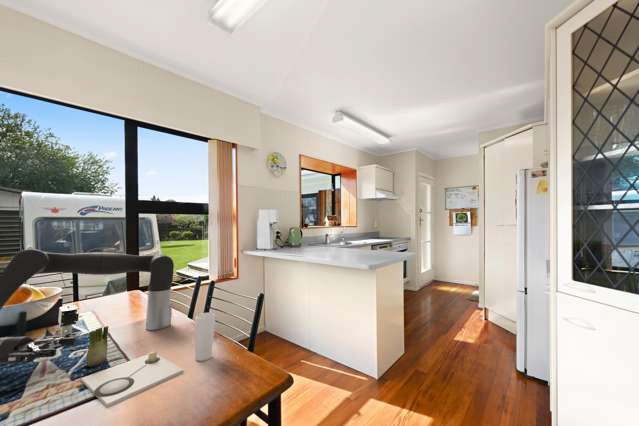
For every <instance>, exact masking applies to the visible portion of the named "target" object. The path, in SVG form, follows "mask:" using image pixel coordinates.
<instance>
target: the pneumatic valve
mask: <svg viewBox="0 0 639 426" xmlns="http://www.w3.org/2000/svg"><path fill="white" fill-rule="evenodd" d="M78 310H80V309H79V306H76V305H74V304H71V305H70V304H68V305H63V306H59V308H58V319H57V320H58V321H57V322H58V324H59V327H60V332H59V334H60V335H66V336H67V335H72V334H73V328H74V327H73V325H76V324H77V322H78V321H79V316H80V313H79V312H78Z"/></svg>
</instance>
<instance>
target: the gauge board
mask: <svg viewBox="0 0 639 426" xmlns="http://www.w3.org/2000/svg"><path fill="white" fill-rule="evenodd" d="M183 373H184V369H183V368H182V367H180V366H178V365H176V364H174V363H173V362H171V361H169V360H168V359H166V358H164V357H162V356H160V355H159V354H158V352H157V351H156V350H154V351H150V352H148V354H145V355H143V356H140V357H136V358H134V359H131V360H128V361H126V362H123V363H120V364H117V365H115V366H112V367H109V368H107V369H103V370H100V371H97V372H95V373H92V374H90V375H87V376H84V377H81V379H80V382H81V383H82V384H83V385H84V386H86V388H87V389H88V390H89V391H91V393H92V394H93V395H94V396H95V397H96V398H97V399H98V400H99V401H101V403H102V405H104V406H105V407H106V408H108V407H111V406H112V405H115V404H117V403H119V402H121V401H123V400H125V399H128V398H130V397H133V396H134V395H136V394H138V393H141V392H142V391H145V390H148V389H149V388H151V387H154V386H156V385H159V384H160V383H162V382H165V381H167V380H169V379H172V378H173V377H176V376H178V375H180V374H183Z"/></svg>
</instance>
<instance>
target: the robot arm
mask: <svg viewBox="0 0 639 426" xmlns="http://www.w3.org/2000/svg"><path fill="white" fill-rule="evenodd" d="M174 263H175V262H174V260H173V259H172V258H171V257H170V256H167V255H165V254H149V255H134V254H127V253H126V254H125V253H120V252H119V253H117V252H101V251H100V252H95V251H94V252H80V253H57V252H48V251H43V250H40V249H34V248H30V249H24V250H21V251H19V252H17V253H16V254H15V255H13V257H12V259H11V260H10V261H9V263H8V265H6V267H5V269H3V271H2V272H1V274H0V311H1V310H2V309H3V307H4V306H5V305H6V304H7V302H8V301H9V300H10V298H11V297H12V296H13V295H14V294H15V293H16V292H17V290H18V289H19V288H21V287H22V286H23V285H24V284H25V283H26V282H27V281H28V280H29V279H31V278H32V277H33V276H35V275H41V274H54V273H67V274H68V273H69V274H79V275H91V276H92V275H94V276H95V275H97V276H100V275H101V276H107V275H119V274H125V273H132V272H133V273H136V272H142V273H143V272H144V273H150V277H149V282H148V286H147V300H146V301H147V305H146V319H145V329H146V330H148V331H156V330H157V331H158V330H162V329H165V328H167V327H168V326H171V325H172V312H173V309H172V308H173V305H172V304H171V296H172V295H171V294H172V292H171V291H172V284H173V280H174V267H175V265H174ZM66 336H67V335H61V334H60V335H47V336H43V339H36V340H34V339H32V337H30V336H9V337H0V365H3V364H5V365H6V364H23V363H24V364H25V363H31V362H33V360H40V359H41V358H51V357H52V358H53V357H56V355H57V348H55V347H60V346H61V347H62V346H72V345H75V344H76V343H77V338H76V337H74V336H73V337H66ZM49 345H50V346H49Z"/></svg>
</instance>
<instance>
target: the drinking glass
mask: <svg viewBox="0 0 639 426" xmlns="http://www.w3.org/2000/svg"><path fill="white" fill-rule="evenodd" d="M215 329H216V314H215V313H213V312H202V313H198V314H197V315H195V319H194V345H195V346H194V347H195V348H194V349H195V350H194V351H195V354H194V355H195V357H194V359H195V360H196V361H197V362H205V361H207V360H209V359H211V358H212V352H213V351H212V350H213V344H214V337H215V335H214V334H215Z"/></svg>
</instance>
